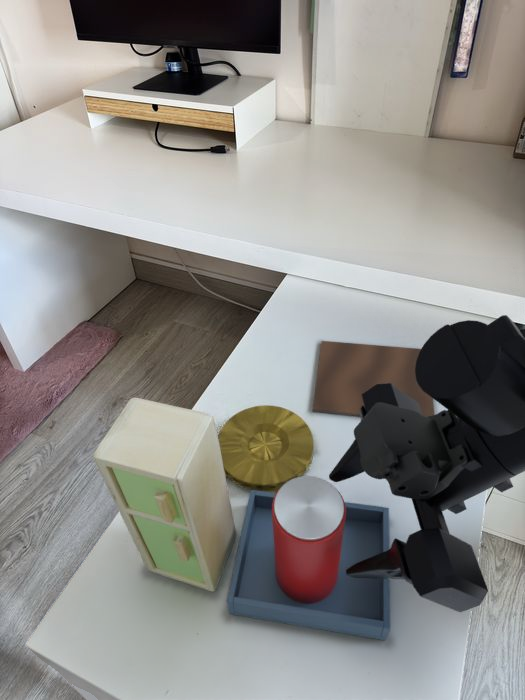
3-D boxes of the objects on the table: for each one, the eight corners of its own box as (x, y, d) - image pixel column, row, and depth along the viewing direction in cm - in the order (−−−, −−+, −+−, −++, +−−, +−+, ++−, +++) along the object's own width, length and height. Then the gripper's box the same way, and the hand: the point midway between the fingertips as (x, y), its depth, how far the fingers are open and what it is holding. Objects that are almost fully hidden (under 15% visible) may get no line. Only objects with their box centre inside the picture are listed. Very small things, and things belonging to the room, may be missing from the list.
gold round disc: (200, 470, 62) (197, 460, 61) (247, 404, 70) (246, 394, 68) (287, 510, 58) (287, 500, 56) (327, 435, 65) (328, 424, 64)
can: (339, 546, 54) (348, 478, 45) (335, 608, 49) (344, 546, 40) (280, 537, 55) (277, 469, 46) (271, 598, 50) (266, 535, 41)
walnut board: (427, 351, 76) (428, 349, 76) (434, 424, 66) (435, 421, 66) (321, 343, 79) (321, 340, 78) (312, 411, 69) (312, 409, 68)
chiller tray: (385, 521, 56) (388, 507, 54) (386, 640, 48) (390, 629, 46) (252, 504, 59) (250, 489, 57) (229, 614, 50) (226, 601, 48)
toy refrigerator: (142, 578, 53) (85, 462, 39) (172, 516, 58) (132, 393, 44) (212, 601, 51) (179, 488, 37) (237, 535, 56) (217, 413, 42)
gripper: (399, 310, 41) (268, 407, 49) (486, 522, 27) (285, 613, 35) (471, 371, 47) (344, 451, 54) (573, 574, 33) (384, 643, 40)
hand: (339, 523), depth 46 cm, fingers open, 9 cm apart
